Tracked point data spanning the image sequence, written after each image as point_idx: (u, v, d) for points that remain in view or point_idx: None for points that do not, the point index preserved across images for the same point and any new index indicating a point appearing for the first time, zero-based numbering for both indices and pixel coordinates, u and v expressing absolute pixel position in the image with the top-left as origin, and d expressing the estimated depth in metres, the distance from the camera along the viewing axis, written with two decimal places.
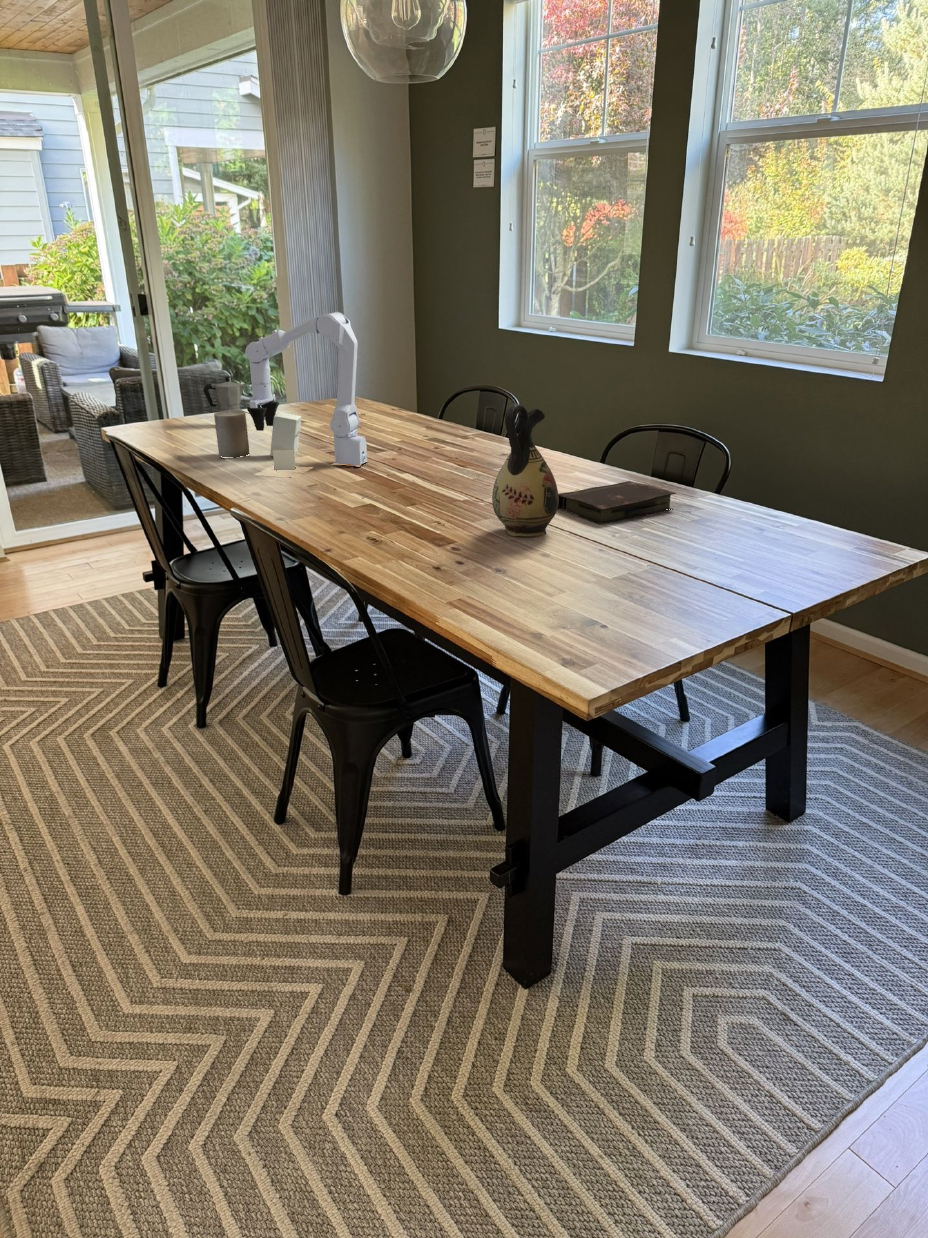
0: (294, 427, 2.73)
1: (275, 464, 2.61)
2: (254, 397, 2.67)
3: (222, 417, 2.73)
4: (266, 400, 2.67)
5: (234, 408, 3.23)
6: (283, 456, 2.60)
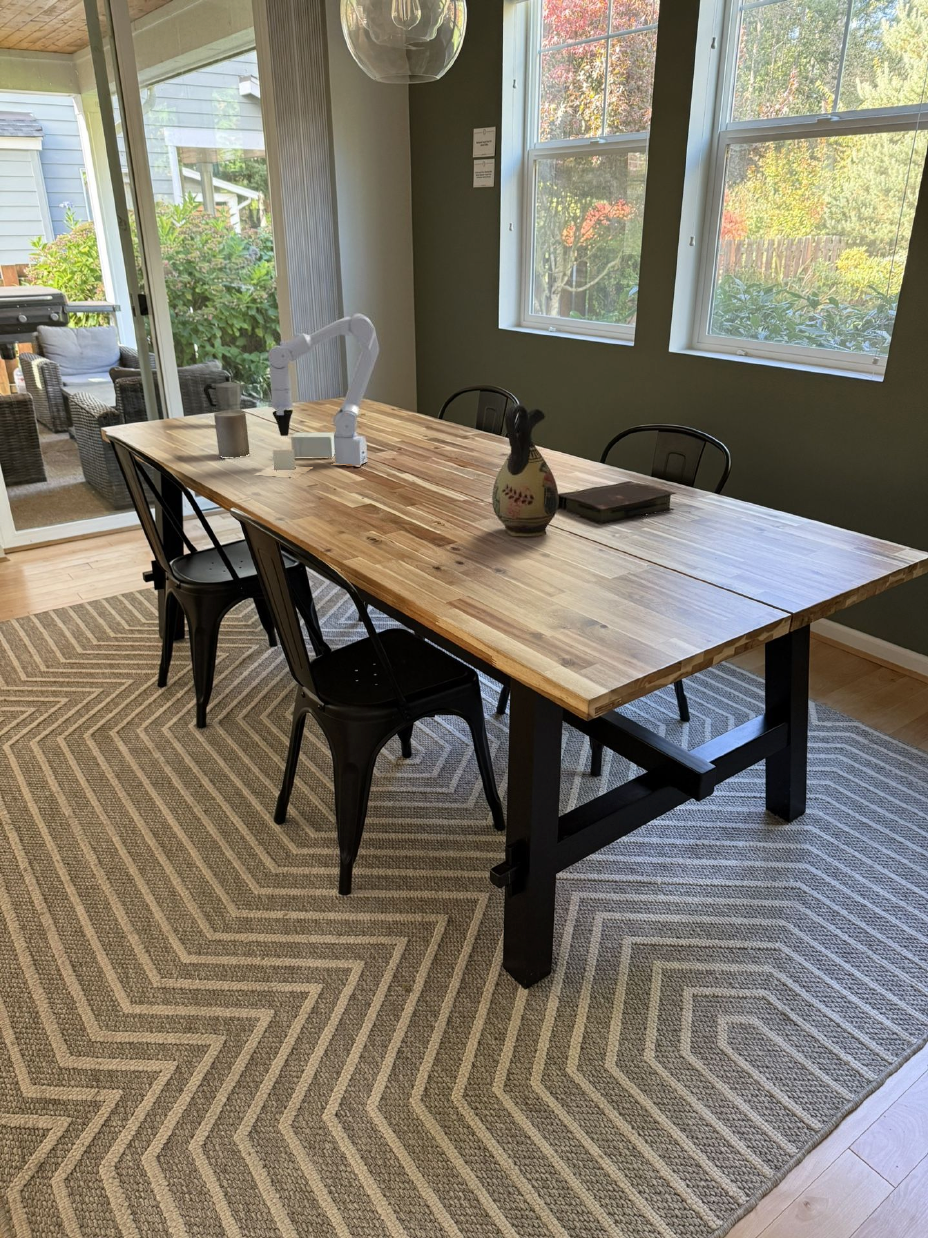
0: None
1: (275, 464, 2.61)
2: (275, 404, 2.58)
3: (222, 417, 2.73)
4: (289, 406, 2.59)
5: (234, 408, 3.23)
6: (283, 456, 2.60)
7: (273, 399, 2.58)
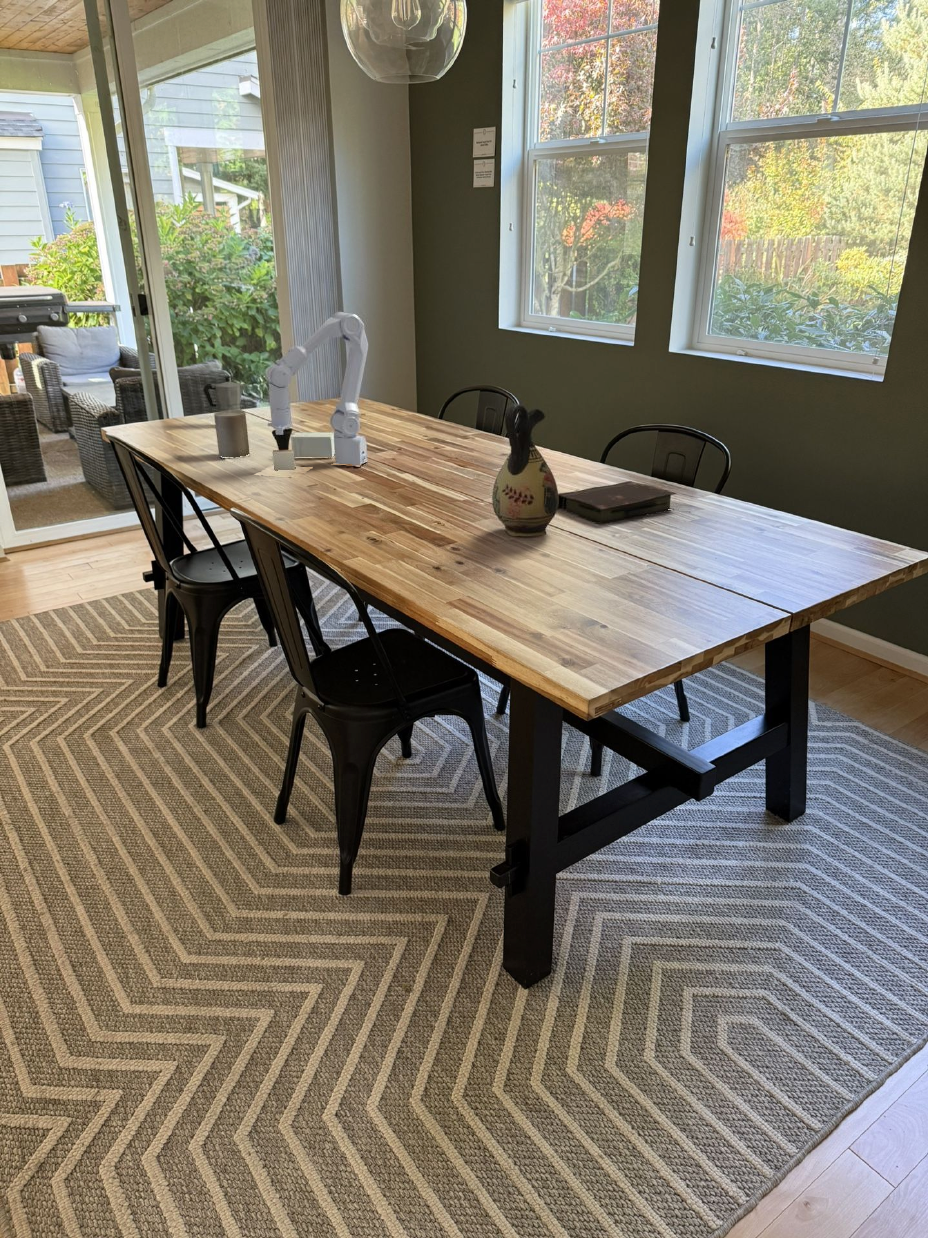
0: None
1: (275, 465, 2.60)
2: (275, 423, 2.55)
3: (222, 417, 2.73)
4: (288, 425, 2.56)
5: (234, 408, 3.23)
6: (283, 457, 2.59)
7: (272, 418, 2.55)
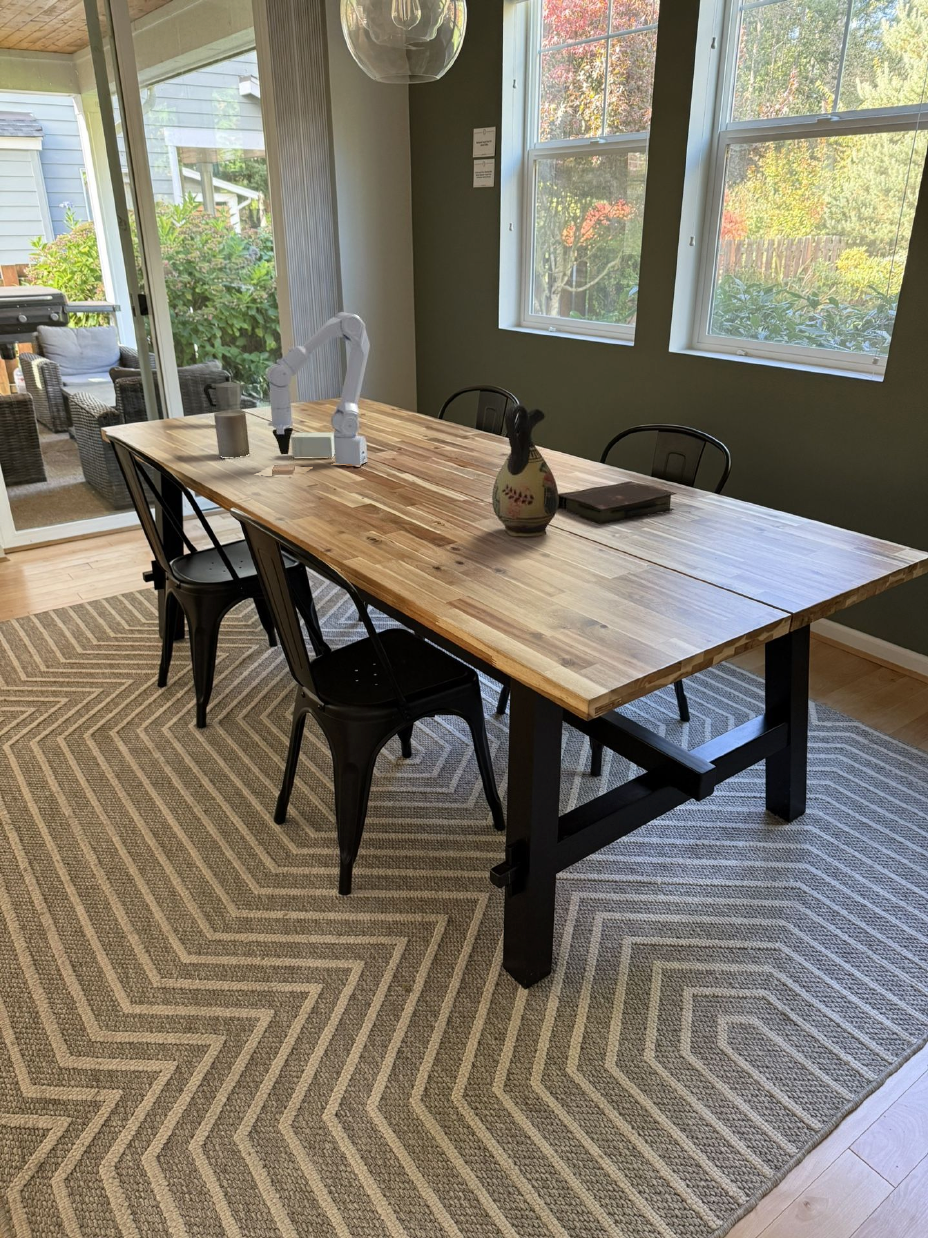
0: None
1: None
2: (275, 422, 2.57)
3: (222, 417, 2.73)
4: (289, 425, 2.57)
5: (234, 408, 3.23)
6: None
7: (273, 418, 2.57)
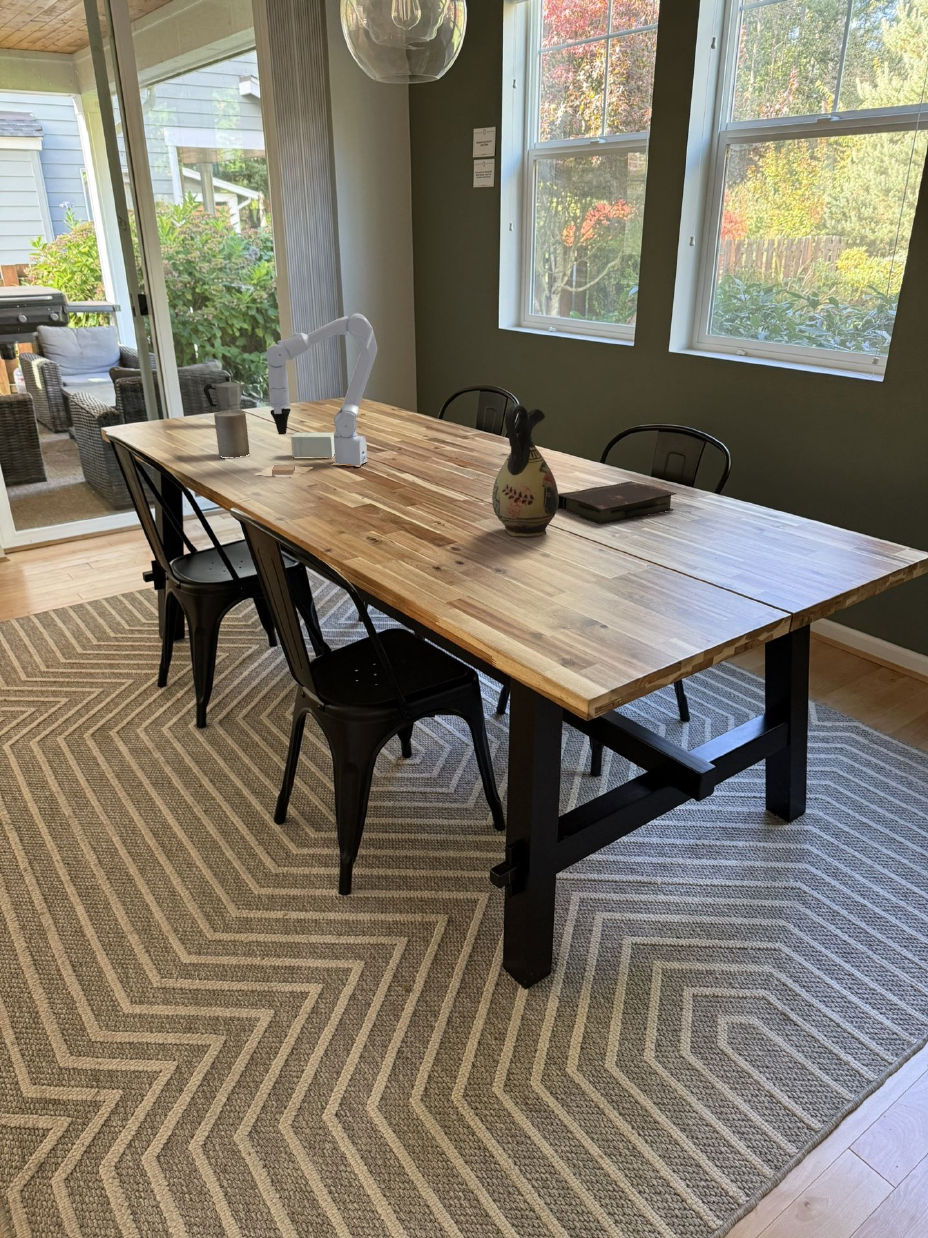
0: None
1: None
2: (273, 402, 2.59)
3: (222, 417, 2.73)
4: (287, 405, 2.59)
5: (234, 408, 3.23)
6: None
7: (271, 398, 2.59)
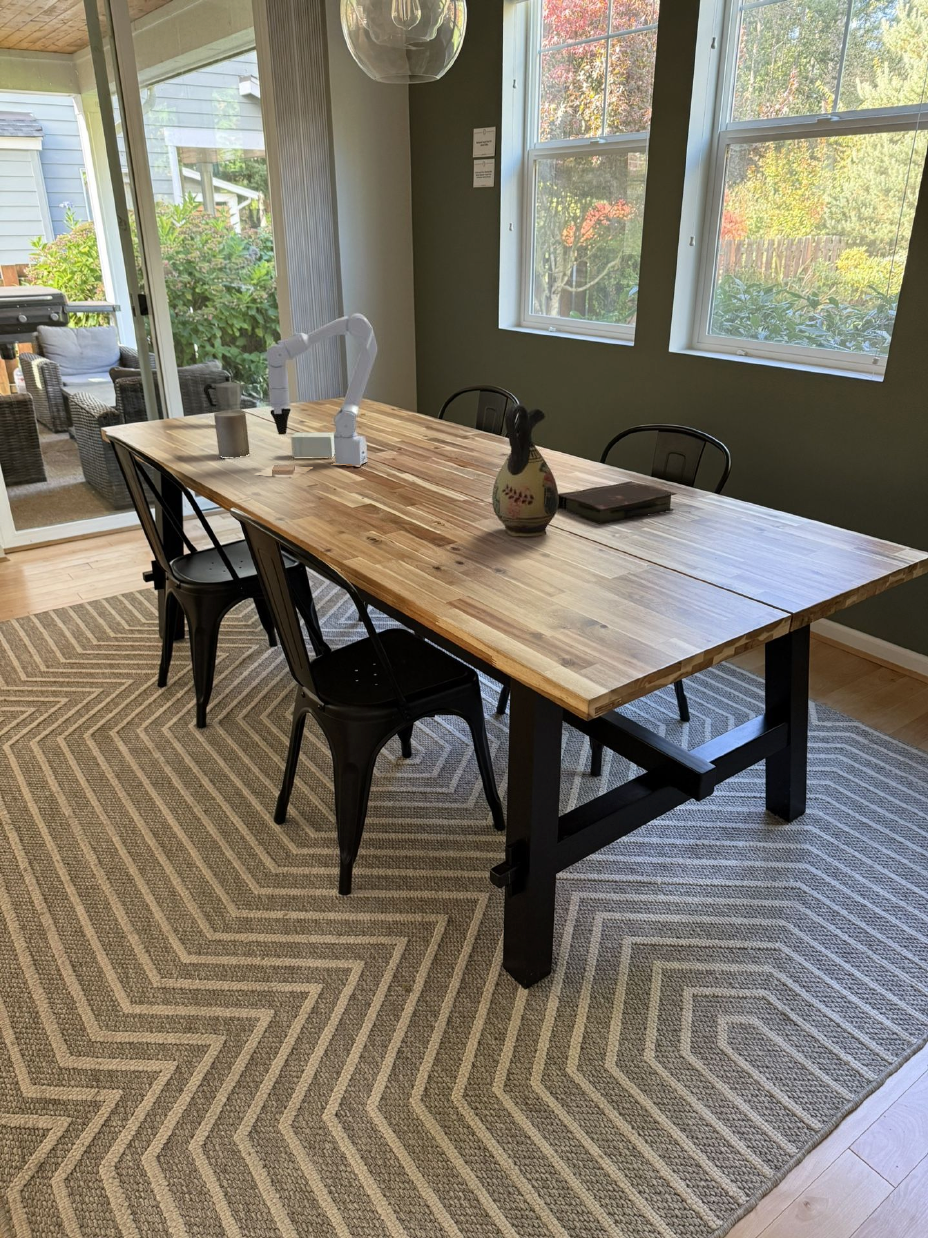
0: None
1: None
2: (273, 402, 2.59)
3: (222, 417, 2.73)
4: (287, 405, 2.59)
5: (234, 408, 3.23)
6: None
7: (271, 398, 2.59)
